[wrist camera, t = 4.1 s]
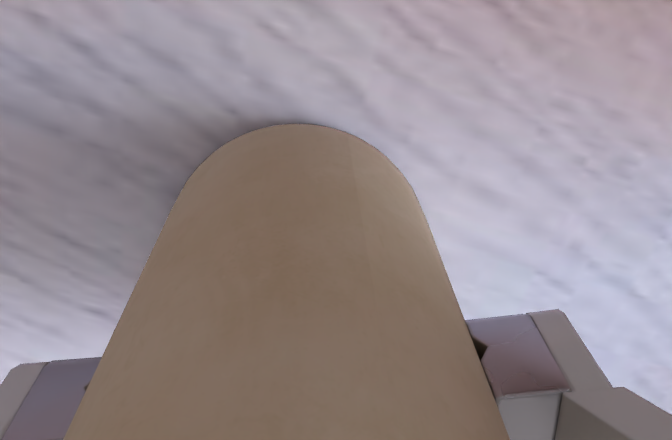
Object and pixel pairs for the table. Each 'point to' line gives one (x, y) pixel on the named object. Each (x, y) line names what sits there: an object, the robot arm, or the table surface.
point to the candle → (292, 309)
